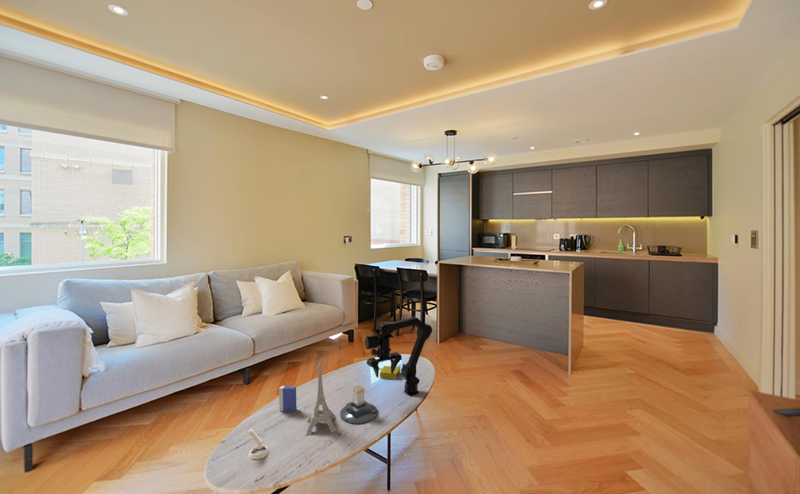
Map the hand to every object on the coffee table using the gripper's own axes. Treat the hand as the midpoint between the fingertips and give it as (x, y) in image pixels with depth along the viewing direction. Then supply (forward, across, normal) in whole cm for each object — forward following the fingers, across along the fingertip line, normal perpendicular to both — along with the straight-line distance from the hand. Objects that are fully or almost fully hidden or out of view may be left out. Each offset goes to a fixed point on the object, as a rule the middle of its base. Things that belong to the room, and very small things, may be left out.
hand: (384, 375), depth 179 cm
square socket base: (+13, +18, +5) cm, 23 cm away
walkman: (+13, +46, -18) cm, 51 cm away
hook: (+14, +65, +9) cm, 67 cm away
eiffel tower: (+14, +37, +4) cm, 39 cm away
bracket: (+14, -17, -25) cm, 33 cm away
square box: (+12, +18, +5) cm, 22 cm away
